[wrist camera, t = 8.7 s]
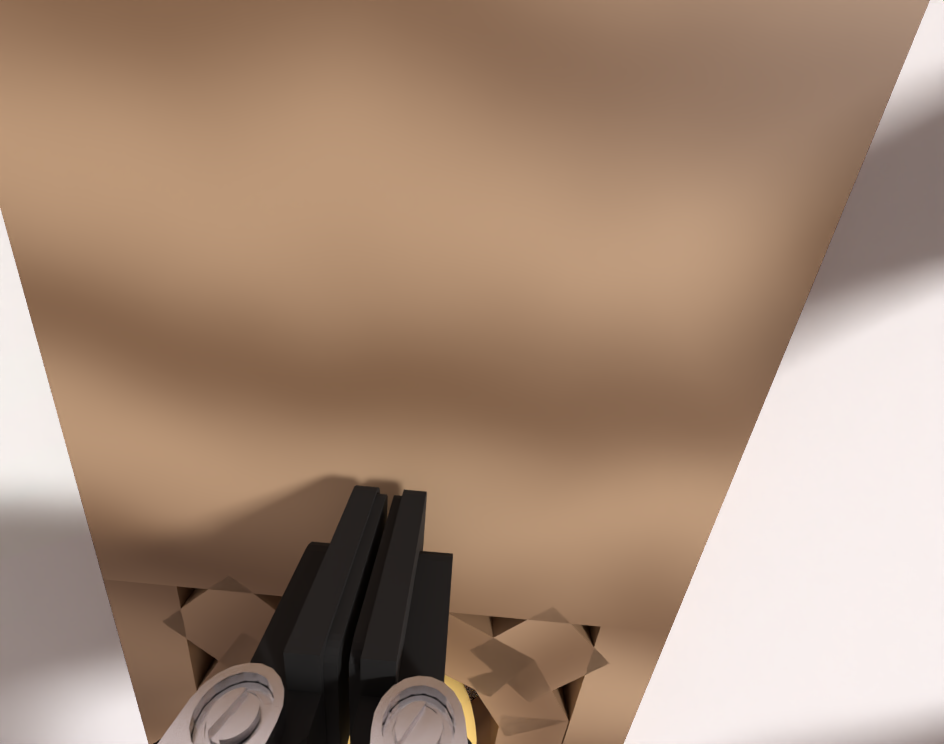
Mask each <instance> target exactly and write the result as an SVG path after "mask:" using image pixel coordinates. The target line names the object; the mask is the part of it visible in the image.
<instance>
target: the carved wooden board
mask: <svg viewBox="0 0 944 744" xmlns="http://www.w3.org/2000/svg"><path fill="white" fill-rule="evenodd" d="M929 1H930V0H0V208H1V211H2V215H3V219H4V222H5V226H6V230H7V233H8V237H9V240H10V244H11V248H12V251H13V255H14V258H15V262H16V266H17V269H18V273H19V277H20V280H21V284H22V287H23V291H24V295H25V298H26V302H27V306H28V309H29V313H30V316H31V320H32V324H33V327H34V331H35V334H36V338H37V342H38V345H39V349H40V353H41V356H42V360H43V363H44V367H45V371H46V374H47V378H48V382H49V385H50V389H51V392H52V396H53V400H54V403H55V407H56V410H57V414H58V418H59V421H60V425H61V429H62V432H63V436H64V439H65V443H66V447H67V450H68V454H69V458H70V461H71V465H72V468H73V472H74V476H75V479H76V483H77V486H78V490H79V494H80V497H81V501H82V505H83V508H84V512H85V515H86V519H87V523H88V526H89V530H90V533H91V537H92V541H93V544H94V548H95V552H96V555H97V559H98V562H99V566H100V570H101V573H102V577H103V581H104V584H105V588H106V591H107V595H108V599H109V602H110V606H111V609H112V613H113V617H114V620H115V624H116V628H117V631H118V635H119V638H120V642H121V646H122V649H123V653H124V657H125V660H126V664H127V667H128V671H129V675H130V678H131V682H132V685H133V689H134V693H135V696H136V700H137V704H138V707H139V711H140V714H141V718H142V722H143V725H144V729H145V733H146V736H147V740H148V743H149V744H153V743H155V742H157V741H158V740H160V739H161V738H162V737H163V736H164V734H165V733H166V731H167V730H168V729H169V727H170V726H171V725H172V723H173V722H174V720H175V719H176V718H177V716H178V715H179V713H180V712H181V711H182V709H183V708H184V707H185V705H186V704H187V702H188V701H189V700H190V698H191V697H192V696H193V695H194V694H195V693H196V692H197V690H198V689H199V688H200V687H201V686H202V685H203V684H204V683H205V682H207V681H208V680H209V679H211V678H212V677H213V676H215V675H216V674H217V673H219V672H221V671H224V670H226V669H228V668H230V667H232V666H235V665H240V664H244V663H250V661H251V659H252V657H253V655H254V653H255V651H256V649H257V647H258V645H259V643H260V641H261V639H262V637H263V635H264V633H265V631H266V629H267V627H268V625H269V623H270V620H271V618H272V616H273V614H274V612H275V610H276V608H277V606H278V604H279V602H280V600H281V598H282V596H283V594H284V592H285V590H286V588H287V586H288V584H289V582H290V580H291V578H292V576H293V573H294V571H295V569H296V567H297V565H298V563H299V561H300V559H301V557H302V555H303V553H304V551H305V549H306V547H307V546H308V544H309V543H310V542H323V543H330V542H331V540H332V537H333V535H334V533H335V530H336V528H337V526H338V523H339V521H340V519H341V516H342V514H343V512H344V509H345V507H346V505H347V502H348V500H349V497H350V495H351V493H352V490H353V488H354V486H356V485H359V486H371V487H379V488H380V494H387V496H388V506H387V517H388V514H389V510H390V507H391V503H392V500H393V496H394V495H400V496H402V494H403V490H404V489H405V490H416V491H427V502H426V516H425V530H424V544H423V551H429V552H441V553H453V563H452V578H451V592H450V606H449V621H448V635H447V649H446V663H445V675H446V676H448V677H450V678H452V679H454V680H456V681H458V682H460V683H462V684H464V685H466V686H468V687H471V688H473V689H475V691H476V692H477V694H478V696H477V697H476V698H475V699H474V700H472V701H471V705H472V710H473V715H474V720H475V726H476V737H477V744H624V741H625V739H626V736H627V734H628V732H629V729H630V727H631V724H632V722H633V719H634V717H635V715H636V712H637V710H638V707H639V705H640V702H641V700H642V698H643V695H644V693H645V690H646V688H647V685H648V683H649V681H650V678H651V676H652V673H653V671H654V668H655V666H656V664H657V661H658V659H659V656H660V654H661V651H662V649H663V647H664V644H665V642H666V639H667V637H668V634H669V632H670V630H671V627H672V625H673V622H674V620H675V617H676V615H677V613H678V610H679V608H680V605H681V603H682V601H683V598H684V596H685V593H686V591H687V588H688V586H689V584H690V581H691V579H692V576H693V574H694V571H695V569H696V567H697V564H698V562H699V559H700V557H701V554H702V552H703V550H704V547H705V545H706V542H707V540H708V537H709V535H710V533H711V530H712V528H713V525H714V523H715V520H716V518H717V516H718V513H719V511H720V508H721V506H722V503H723V501H724V499H725V496H726V494H727V491H728V489H729V486H730V484H731V482H732V479H733V477H734V474H735V472H736V469H737V467H738V465H739V462H740V460H741V457H742V455H743V452H744V450H745V448H746V445H747V443H748V440H749V438H750V435H751V433H752V431H753V428H754V426H755V423H756V421H757V418H758V416H759V414H760V411H761V409H762V406H763V404H764V401H765V399H766V397H767V394H768V392H769V389H770V387H771V385H772V382H773V380H774V377H775V375H776V372H777V370H778V368H779V365H780V363H781V360H782V358H783V355H784V353H785V351H786V348H787V346H788V343H789V341H790V338H791V336H792V334H793V331H794V329H795V326H796V324H797V321H798V319H799V317H800V314H801V312H802V309H803V307H804V304H805V302H806V300H807V297H808V295H809V292H810V290H811V287H812V285H813V283H814V280H815V278H816V275H817V273H818V270H819V268H820V266H821V263H822V261H823V258H824V256H825V253H826V251H827V249H828V246H829V244H830V241H831V239H832V236H833V234H834V232H835V229H836V227H837V224H838V222H839V219H840V217H841V215H842V212H843V210H844V207H845V205H846V202H847V200H848V198H849V195H850V193H851V190H852V188H853V185H854V183H855V181H856V178H857V176H858V173H859V171H860V168H861V166H862V164H863V161H864V159H865V156H866V154H867V152H868V149H869V147H870V144H871V142H872V139H873V137H874V135H875V132H876V130H877V127H878V125H879V122H880V120H881V118H882V115H883V113H884V110H885V108H886V105H887V103H888V101H889V98H890V96H891V93H892V91H893V88H894V86H895V84H896V81H897V79H898V76H899V74H900V71H901V69H902V67H903V64H904V62H905V59H906V57H907V54H908V52H909V50H910V47H911V45H912V42H913V40H914V37H915V35H916V33H917V30H918V28H919V25H920V23H921V20H922V18H923V16H924V13H925V11H926V8H927V6H928V3H929Z"/></svg>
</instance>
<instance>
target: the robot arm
mask: <svg viewBox="0 0 944 744" xmlns="http://www.w3.org/2000/svg"><path fill="white" fill-rule="evenodd" d="M426 502H427V491H416V490H405V489H404V490H403V494H402V496H400V495H394V496H393V500H392V503H391V507H390V510H389V514H388V517H387V506H388V496H387V494H380V488H379V487H371V486H359V485H356V486H354V488H353V490H352V493H351V495H350V497H349V500H348V502H347V505H346V507H345V509H344V512H343V514H342V516H341V519H340V521H339V523H338V526H337V528H336V530H335V533H334V535H333V537H332V540H331V542H330V543H323V542H310V543H309V544H308V546H307V547H306V549H305V551H304V553H303V555H302V557H301V559H300V561H299V563H298V565H297V567H296V569H295V571H294V573H293V576H292V578H291V580H290V582H289V584H288V586H287V588H286V590H285V592H284V594H283V596H282V598H281V600H280V602H279V604H278V606H277V608H276V610H275V612H274V614H273V616H272V618H271V620H270V623H269V625H268V627H267V629H266V631H265V633H264V635H263V637H262V639H261V641H260V643H259V645H258V647H257V649H256V651H255V653H254V655H253V657H252V659H251V661H250V663H244V664H240V665H235V666H232V667H230V668H228V669H226V670H224V671H221V672H219V673H217V674H216V675H215V676H213V677H212V678H211V679H209V680H208V681H207V682H205V683H204V684H203V685H202V686H201V687H200V688H199V689H198V690H197V692H196V693H195V694H194V695H193V696H192V697H191V698H190V700H189V701H188V702H187V704H186V705H185V707H184V708H183V709H182V711H181V712H180V713H179V715H178V716H177V718H176V719H175V720H174V722H173V723H172V725H171V726H170V727H169V729H168V730H167V731H166V733H165V734H164V736H163V737H162V738H161V739H160V740H158V741H157V742H155V743H153V744H348V740H349V736H350V744H472V743H471V741H470V740H469V739H468V738H467V731H466V722H465V716H464V712H463V708H462V704H461V703H460V701H459V699H458V698H457V696H456V694H455V692H454V691H453V690H452V689H451V688H449V687H448V686H447V685H446V684H445V683H444V678H445V663H446V649H447V635H448V621H449V606H450V592H451V578H452V563H453V553H441V552H429V551H423V544H424V530H425V516H426Z"/></svg>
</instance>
